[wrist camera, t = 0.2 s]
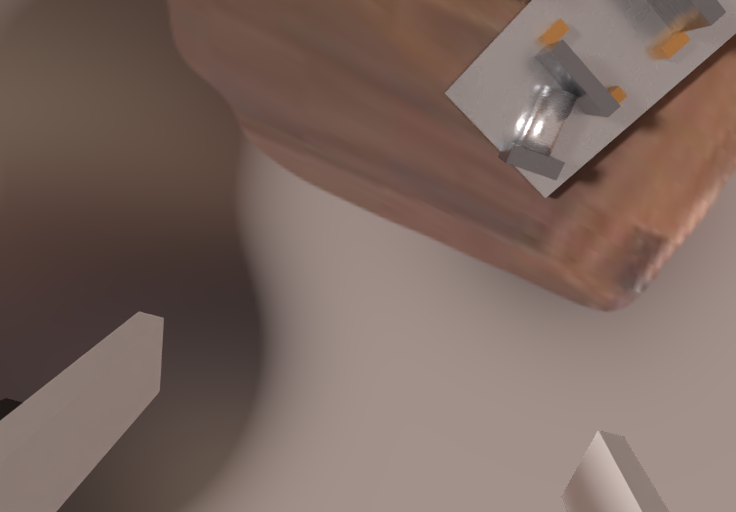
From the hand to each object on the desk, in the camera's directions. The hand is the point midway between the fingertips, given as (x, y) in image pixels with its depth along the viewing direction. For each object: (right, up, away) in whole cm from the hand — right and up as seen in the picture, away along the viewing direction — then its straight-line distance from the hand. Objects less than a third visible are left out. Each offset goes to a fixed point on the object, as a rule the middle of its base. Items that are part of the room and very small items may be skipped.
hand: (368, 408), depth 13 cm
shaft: (+13, +15, +21) cm, 29 cm away
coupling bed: (+18, +21, +19) cm, 33 cm away
